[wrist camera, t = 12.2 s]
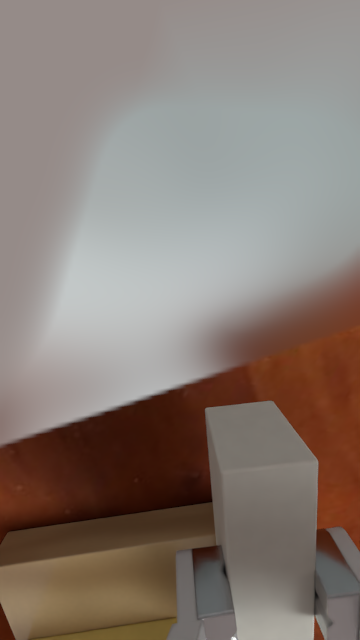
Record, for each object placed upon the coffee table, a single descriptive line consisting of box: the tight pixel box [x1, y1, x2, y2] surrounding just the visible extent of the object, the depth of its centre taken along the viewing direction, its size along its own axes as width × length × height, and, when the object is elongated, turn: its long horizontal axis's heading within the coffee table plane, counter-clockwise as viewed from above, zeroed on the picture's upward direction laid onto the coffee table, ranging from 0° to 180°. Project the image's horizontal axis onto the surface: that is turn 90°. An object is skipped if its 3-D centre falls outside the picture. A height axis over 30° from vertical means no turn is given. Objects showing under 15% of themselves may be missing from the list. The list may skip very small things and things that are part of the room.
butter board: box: [0, 502, 216, 640], centre depth 13 cm, size 14×13×2 cm
